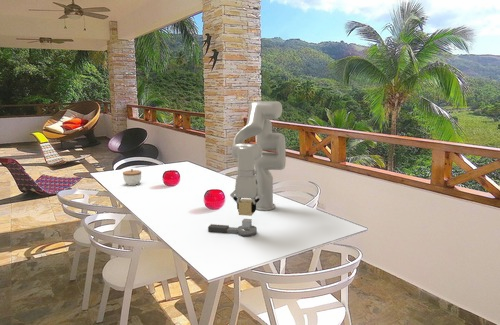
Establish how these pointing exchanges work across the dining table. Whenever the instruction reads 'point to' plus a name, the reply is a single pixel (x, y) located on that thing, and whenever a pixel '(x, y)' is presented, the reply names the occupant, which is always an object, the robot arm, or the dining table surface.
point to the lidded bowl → (132, 177)
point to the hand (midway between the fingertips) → (246, 211)
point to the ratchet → (236, 229)
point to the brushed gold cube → (245, 207)
